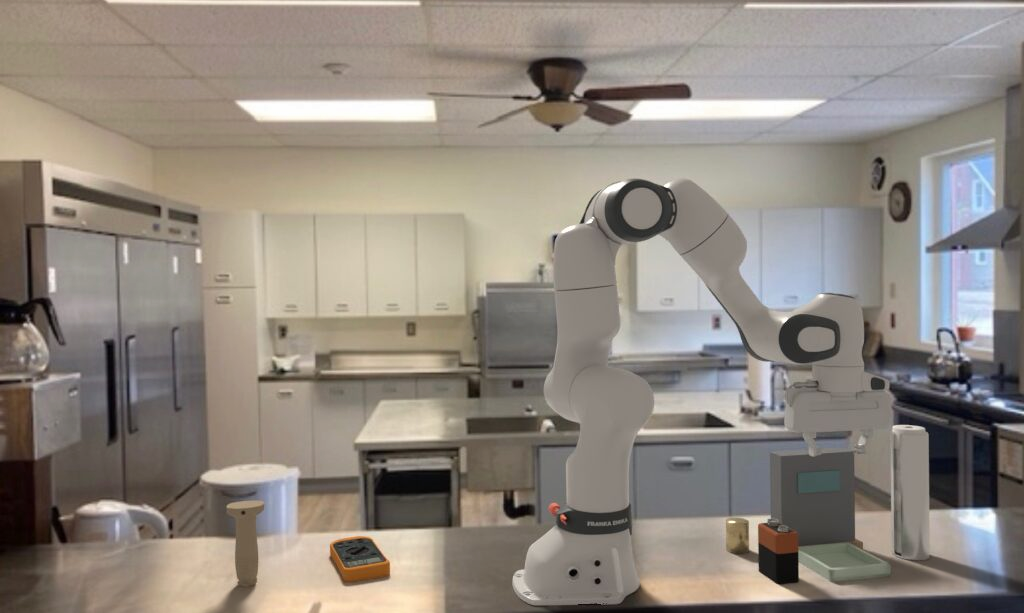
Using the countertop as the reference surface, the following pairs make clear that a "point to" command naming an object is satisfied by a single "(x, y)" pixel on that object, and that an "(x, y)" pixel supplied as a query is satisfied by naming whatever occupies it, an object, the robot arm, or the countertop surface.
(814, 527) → the control unit
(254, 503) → the handle
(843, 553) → the tray
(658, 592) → the countertop surface
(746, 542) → the yellow translucent cylinder
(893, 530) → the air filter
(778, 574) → the battery
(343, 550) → the multimeter
